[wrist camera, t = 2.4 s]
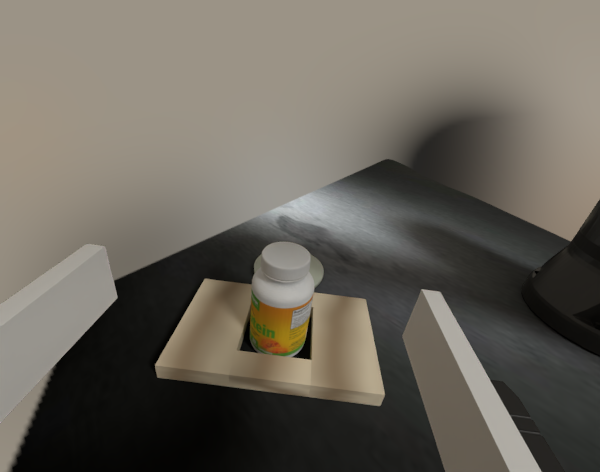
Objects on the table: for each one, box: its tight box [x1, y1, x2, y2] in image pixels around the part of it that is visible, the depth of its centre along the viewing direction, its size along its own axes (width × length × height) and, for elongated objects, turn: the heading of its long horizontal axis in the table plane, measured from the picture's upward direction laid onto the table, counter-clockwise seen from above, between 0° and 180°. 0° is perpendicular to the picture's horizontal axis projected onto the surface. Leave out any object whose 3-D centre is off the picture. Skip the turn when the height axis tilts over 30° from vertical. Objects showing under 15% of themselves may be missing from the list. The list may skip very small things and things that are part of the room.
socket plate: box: [155, 279, 385, 406], centre depth 28 cm, size 18×11×2 cm, turn 86°
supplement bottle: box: [250, 242, 314, 357], centre depth 26 cm, size 5×5×10 cm
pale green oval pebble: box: [254, 254, 324, 288], centre depth 37 cm, size 9×9×1 cm
